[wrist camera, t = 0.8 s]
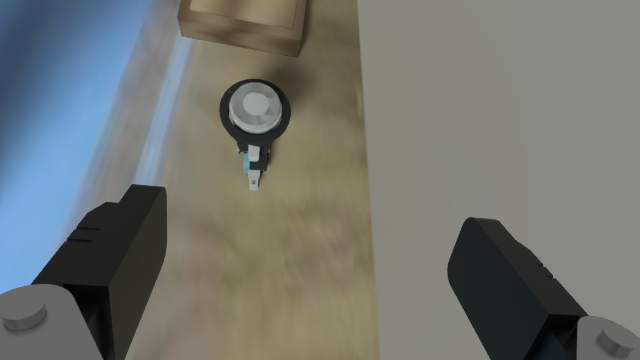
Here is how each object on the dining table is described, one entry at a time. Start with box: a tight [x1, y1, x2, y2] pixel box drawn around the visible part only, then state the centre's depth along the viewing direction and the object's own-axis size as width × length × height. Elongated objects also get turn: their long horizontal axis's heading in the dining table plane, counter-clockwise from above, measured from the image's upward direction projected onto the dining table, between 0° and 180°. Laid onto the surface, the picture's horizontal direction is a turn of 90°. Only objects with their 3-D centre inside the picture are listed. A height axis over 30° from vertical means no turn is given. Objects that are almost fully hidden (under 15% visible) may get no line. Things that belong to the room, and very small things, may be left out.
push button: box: [220, 79, 291, 190], centre depth 34 cm, size 7×5×10 cm
